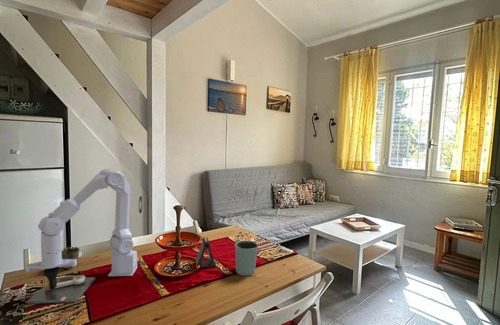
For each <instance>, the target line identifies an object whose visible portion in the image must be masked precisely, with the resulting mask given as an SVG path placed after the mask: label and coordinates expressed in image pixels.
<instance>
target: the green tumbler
mask: <svg viewBox="0 0 500 325" xmlns="http://www.w3.org/2000/svg"><path fill="white" fill-rule="evenodd" d="M234 248H235V272H236V274H238V275H240V276H252V275H254V274H255V272H256V266H257V265H256V263H257V256H258V249H259V244H258V243H257V242H254V241H251V240H241V241H240V240H239V241H237V242H235V244H234Z"/></svg>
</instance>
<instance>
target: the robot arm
mask: <svg viewBox="0 0 500 325" xmlns="http://www.w3.org/2000/svg"><path fill="white" fill-rule="evenodd" d="M109 187H110V188H111V189H112V190H113V191H115V194H116V195H115V196H116V197H115V218H114V219H115V220H114V229H113V230H112V234H111V237H110V238H109V245H110V247H112V251H111V270H110V272H109V273H108V275H107V277H126V276H127V277H129V276H130V277H131V276H132V277H133V275H134V273H136V271H137V268H138V251H137V250H133V248H134V244H135V243H134V240H133V234H132V233H131V231H130V228H129V227H130V210H131V184H129V182H128V180H127V178H126V175H125V174H123V173H122V172H121V171H118V170H112V169H111V168H110V169H109V168H104V169H102V170H100V171H99V173H97V174H96V175H95V176H93V178H92V179H91V180H90V181H89V182H88V183H87V184H86V185H85V186H84V187H83V188H82V189H81V190H80V191H79V192H78V193H77V194H75V195H74V196H73V198H68V199H65V200H61V201H60V203H59V206H58V207H56V208H55V209H54V210H53V211H52V212H49V213H48V215H47V216H44V217H43V218H41V219H40V221H39V223H38V225H37V227H38V230H40V238H41V239H40V251H41V252H40V253H41V254H40V256H41V261H39V262H33V263H28V264H27V265H25V272H26V273H27V272H30V271H37V270H44V271H43V275H44V276H45V278H48V280H49V282H50V283H49V287H50V289H55V287H56V286H57V279H56V278H57V276H58V274H59V272H60V270H61V268H64V267H67V266H72V267H73V268H74V267H76V266H77V262H78V260H77V259H62V251H63V250H62V249H63V248H62V235H61V232H62V231H63V228H64V225H65V224H66V223H67V222H69V220H71V218H72V217H74V215H76V214H77V213H78V212H79V211H80V210H81V209H80V208H81V205H82V204H83V203H84V202H86V201H87V200H88V199H89V197H91V196H92V195H93V194H95V192H97V191H99V190H102V189H103V190H104V189H108V188H109Z"/></svg>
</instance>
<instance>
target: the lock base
mask: <svg viewBox="0 0 500 325" xmlns="http://www.w3.org/2000/svg"><path fill="white" fill-rule="evenodd" d="M73 278H74V277H62V278H59V277H58V278H57V277H56V279H57V283H61V282H65V281H70V280H73ZM94 281H96V277H93V276H92V277H90V276H89V277H86V276H85V282H84V283H82V284H78V285H75V284H71V285H67V286H62V287H58V288H55V289H51V290H45V285H44V286H43V287H42V288H41V289H40V290H39V291H37V292H36V293H35V294H34V295H32V296H31V297H30V298H29V299H28V300H27V301H26V304H27V305H36V304H39V305H40V304H57V303H60V304H61V303H76V302H77V301H78V300H79V299H80V298H81V296H82V295H83V294H84V293H85V292H86V291H87V290H88V288H89V287H90V286H91V285H92V284H93V283H94Z"/></svg>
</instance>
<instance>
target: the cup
mask: <svg viewBox="0 0 500 325" xmlns="http://www.w3.org/2000/svg"><path fill="white" fill-rule="evenodd" d="M62 249H63V250H62V259H77V261H78V259H79V255H80V247H78V246H72V247H70V246H67V247H64V248H62ZM63 268H64V269H65V270H71V269H73V268H74V267H72V266H67V267H63Z"/></svg>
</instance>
